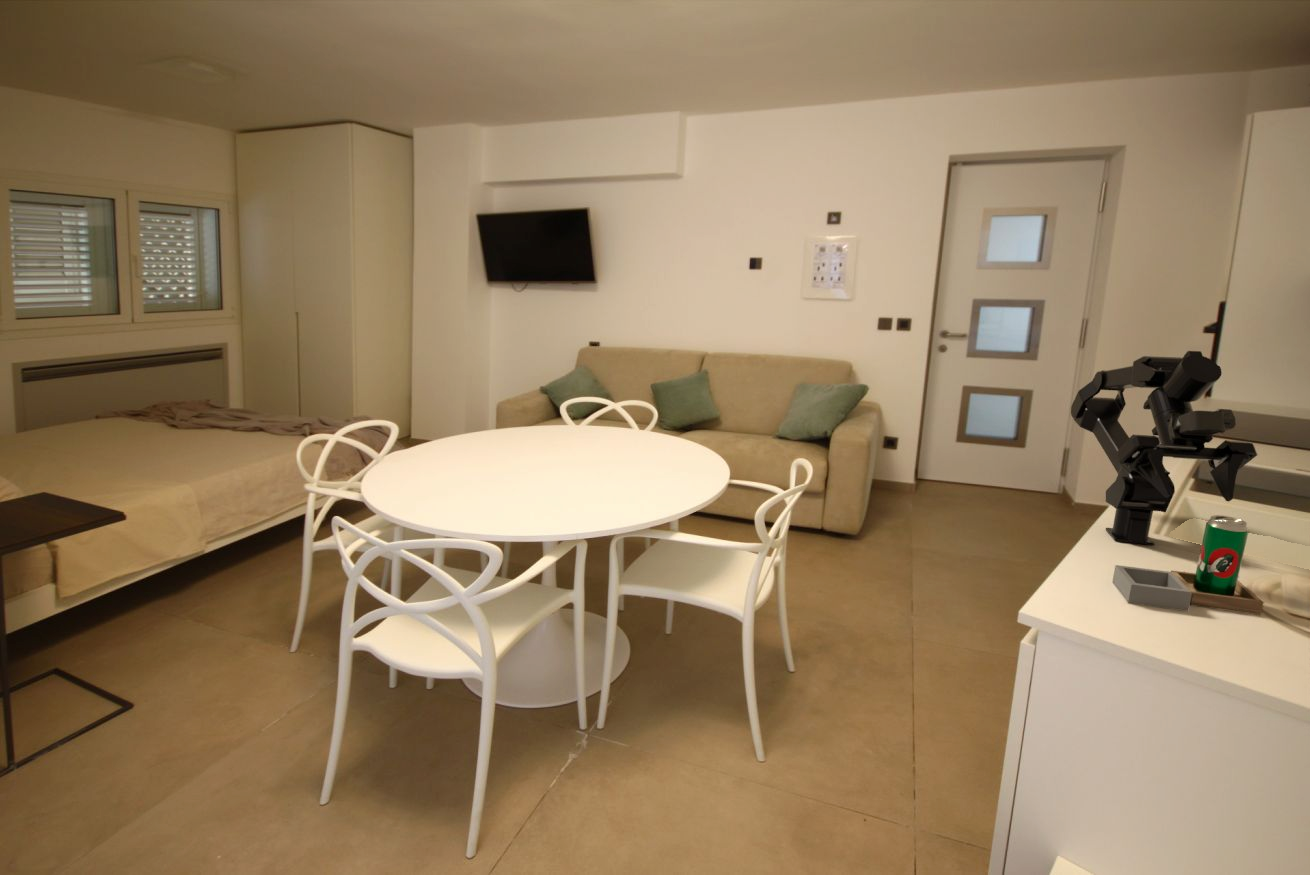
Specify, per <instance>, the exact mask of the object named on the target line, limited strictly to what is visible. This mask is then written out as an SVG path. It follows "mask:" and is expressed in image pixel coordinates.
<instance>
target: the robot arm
mask: <svg viewBox="0 0 1310 875" xmlns="http://www.w3.org/2000/svg"><path fill="white" fill-rule="evenodd" d="M1221 368H1222V367H1220V365H1218V363H1216V362H1215V360H1212V359H1210V358H1208V357H1206V356H1205V355H1203V353H1202V351H1200V350H1199V351H1197V350H1187V351H1186V352H1185V354H1184V355H1183V356H1182V357H1179V356H1175V357H1173V356H1152V355H1149V356H1148V355H1147V356H1146V355H1144V356H1141V357H1140V358H1137V359H1136V360H1134V361H1132V365H1129V366H1125V367H1124V366H1123V367H1120V368H1119V367H1118V368H1115V369H1114V368H1113V369H1109V370H1106V369H1104V370H1099V371H1097V372H1096V373H1095V375H1094V377H1093V379H1092V381H1090V382H1089V383H1087V384H1086V385H1085V386H1083V387H1082V388H1080V389H1079V390H1078V391H1077V394H1076V396H1075V398H1074V400H1073V402H1072V404H1071V406H1070V407H1071V408H1070V415H1071V417H1072V418H1073V421H1074V422H1075V423H1076V424H1077V425H1078V426H1079V427H1080V428H1082V429H1083V430H1086V431H1088V432H1090V433H1093V435H1094V436H1095V438H1096V440H1097V441H1098V443H1099V445H1100V446H1101V448H1102V450H1103V452H1104V453H1105V455H1106V457H1107V458H1108V459H1109V461H1110V463H1111V465H1112V466H1113V469H1115V471H1116V472H1117V476H1116V478H1115V480H1114V482H1113V483H1112V484H1111V485H1110V486H1108V487H1107V489H1106V490H1105V502H1106V503H1107V504H1109V505H1110V506H1111V507H1113V508H1114V509H1115V512H1114V518H1113V524H1112V527H1105V532H1106V533H1107V534H1109V535H1110V537H1111V538H1112V539H1113V540H1114V541H1116V542H1123V543H1133V544H1142V545H1151V546H1154V545H1155V544H1156V543H1155V541H1154V539H1152V538H1151V537H1150V536H1149V534H1150V529H1151V523H1152V518H1153V514H1154V512H1161V513H1166V512H1167V510H1168V508H1169V506H1170V503H1171V501H1172V499H1173V497H1174V494H1175V484H1174V482H1173V480H1172V478H1171V477H1170V474H1171V472H1170V471H1168V470H1167V469H1166V468H1165V466H1164V463H1163V462H1164V461H1163V460H1164V458H1165V457H1167V458H1174V459H1188V460H1202V461H1203V460H1205V461H1207V462H1208V465H1209V468H1211V469H1212V470H1210V471H1209V472H1210V474H1211V476H1212V478H1213V480H1214V482H1215V484H1216V486H1217V488H1218V489H1219V492H1220V493H1221V496H1222V497H1223V498H1224V501H1226V502H1231V501H1232V500H1233V499H1234V494H1235V485H1236V479H1237V474H1238V471H1239V470H1240V469H1242V468H1243V467H1244V466H1245V465H1247V464H1248V463H1249V462H1250V461H1252V460H1253V459H1254V458H1256V457H1257V456H1258V453H1257V450H1256V447H1255V444H1253V442H1249V441H1243V440H1230V439H1227V440H1226V439H1225V440H1224V441H1223V442H1222V443H1220V444H1219V445H1217V447H1205V444H1206V443H1211V442H1212V440H1214V438H1213V436H1214V435H1215V434H1216V435H1217V434H1224V433H1226V431H1229V430H1232V429H1234V428H1235V427H1236V426H1237V425H1236V424H1237V423H1236V417H1235V415H1234V411H1232V409H1225V408H1223V409H1222V408H1221V409H1218V410H1215V411H1214V410H1212V411H1211V410H1193V409H1194V408H1193V406H1192V403H1191V402H1197V401H1198V400H1200V399H1201V398H1202V397H1203V396H1204V395H1205V394H1206V393H1207V392H1208V391H1209V390H1210V389H1211V388H1212V387H1213V386H1214V384H1216V383H1217V382H1218V380H1219V379H1220V378H1221V376H1222V369H1221ZM1133 388H1134V389H1135V388H1141V389H1153V390H1152V391H1151V392H1150V393H1149V394H1148V396H1147V399H1146V400H1145V402H1144V404H1143V407H1142V408H1143V410H1150V411H1151V416H1152V419H1153V422H1154V425H1155V426H1154V427H1153V429H1151V433H1152V435H1145V434H1132V435H1131V436H1129V434H1127V432H1126V430H1125V429H1124V428H1123V426H1122V425H1121V423H1120V422H1119V419H1120V417H1121V414H1122V412H1123V410H1124V408H1125V407H1126V405H1127V404H1126V400H1125V396H1124V392H1125V390H1126V389H1133ZM1101 391H1116V392H1117V394H1116V396H1115V397H1095V396H1097V395H1098V394H1099V393H1100V392H1101Z"/></svg>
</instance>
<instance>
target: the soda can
mask: <svg viewBox="0 0 1310 875" xmlns="http://www.w3.org/2000/svg"><path fill="white" fill-rule="evenodd" d="M1247 525H1248V523H1247V522H1246V521H1245V520H1243V519H1240V518H1236V517H1232V516H1228V515H1220V514H1219V515H1217V514H1216V515H1211V516H1210V519H1209V520H1207V521H1206V523H1205V526H1204V527H1205V528H1204V533H1203V537H1202V542H1201V546H1200V551H1199V556H1198V560H1197V566H1196V570H1195V573H1196V574H1195V578H1194V583H1193V587H1194V588H1195V590H1196V591H1197V592H1202V593H1209V594H1217V595H1225V596H1234V593H1235V589H1236V584H1237V580H1238V579H1239V575H1240V569H1241V566H1242V562H1243V557H1244V553H1245V548H1246V546H1247V545H1246V544H1247V539H1248V535H1249V529H1248V526H1247ZM1238 581H1239V580H1238Z"/></svg>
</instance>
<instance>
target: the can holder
mask: <svg viewBox="0 0 1310 875" xmlns="http://www.w3.org/2000/svg"><path fill="white" fill-rule="evenodd" d="M1112 576H1113V577H1112V581H1111V582H1112V584H1113V585H1114V587H1115V588H1116V590H1118V592H1119V593H1120V595H1121V597H1123V598H1124V599H1125V601H1126V602H1127V603H1128V604H1132V605H1133V604H1135V605H1142V606H1147V607H1156V608H1165V609H1170V610H1179V611H1184V612H1188V611H1189V610H1190V601H1191V596H1192V592H1191V591H1190V590H1189V589H1188V588H1187V587H1186V586H1185V585H1184V584H1183V583H1182V582H1181V581H1180V580H1179V579H1178V578H1177V577H1176V576H1175V574H1174V573H1173V572H1171V571H1168V570H1158V569H1152V568H1151V569H1150V568H1143V567H1135V566H1127V565H1118V564H1115V565H1114V572H1113V575H1112Z"/></svg>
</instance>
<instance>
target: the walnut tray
mask: <svg viewBox="0 0 1310 875" xmlns="http://www.w3.org/2000/svg"><path fill="white" fill-rule="evenodd" d="M1170 572H1173V573H1174V574H1175V576H1176V577H1177V578H1178V579H1179V580H1180V581H1181V582H1182V583H1183V584H1184V585H1185V586H1186V587H1187V588H1188V589H1189V590H1190V591H1191V592H1192V596H1191V601H1190V605H1191V606H1196V607H1201V608H1202V607H1203V608H1211V609H1217V610H1225V611H1230V612H1231V611H1232V612H1237V613H1240V612H1241V613H1247V614H1255V615H1261V614H1262V610H1263V606H1264V604H1265V602H1264V601H1263V600H1262V599H1261V598H1260V597H1258V596H1257V595H1256V594H1255V593H1254V592H1252V590H1251V589H1249V588H1248V587H1247V586H1245V584H1243V583H1242V581H1241V582H1240V581H1239V580H1237V584H1236V589H1235V593H1234V596H1225V595H1217V594H1209V593H1202V592H1197V591H1196V590H1195V588H1194V587H1193V583H1194V578H1195V574H1196V572H1188V571H1187V572H1185V571H1179V570H1170ZM1190 605H1189V606H1190Z"/></svg>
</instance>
